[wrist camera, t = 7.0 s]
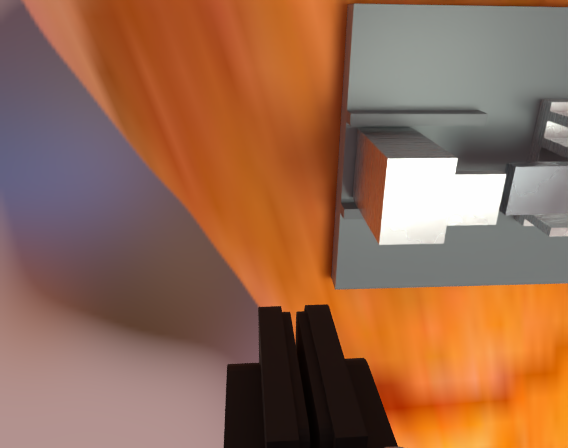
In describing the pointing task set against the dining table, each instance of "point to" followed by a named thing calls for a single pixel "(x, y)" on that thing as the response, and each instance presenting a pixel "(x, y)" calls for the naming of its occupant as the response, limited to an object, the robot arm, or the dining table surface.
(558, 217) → the heatsink
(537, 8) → the socket board
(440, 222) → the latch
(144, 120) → the dining table surface
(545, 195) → the silver metal bar
